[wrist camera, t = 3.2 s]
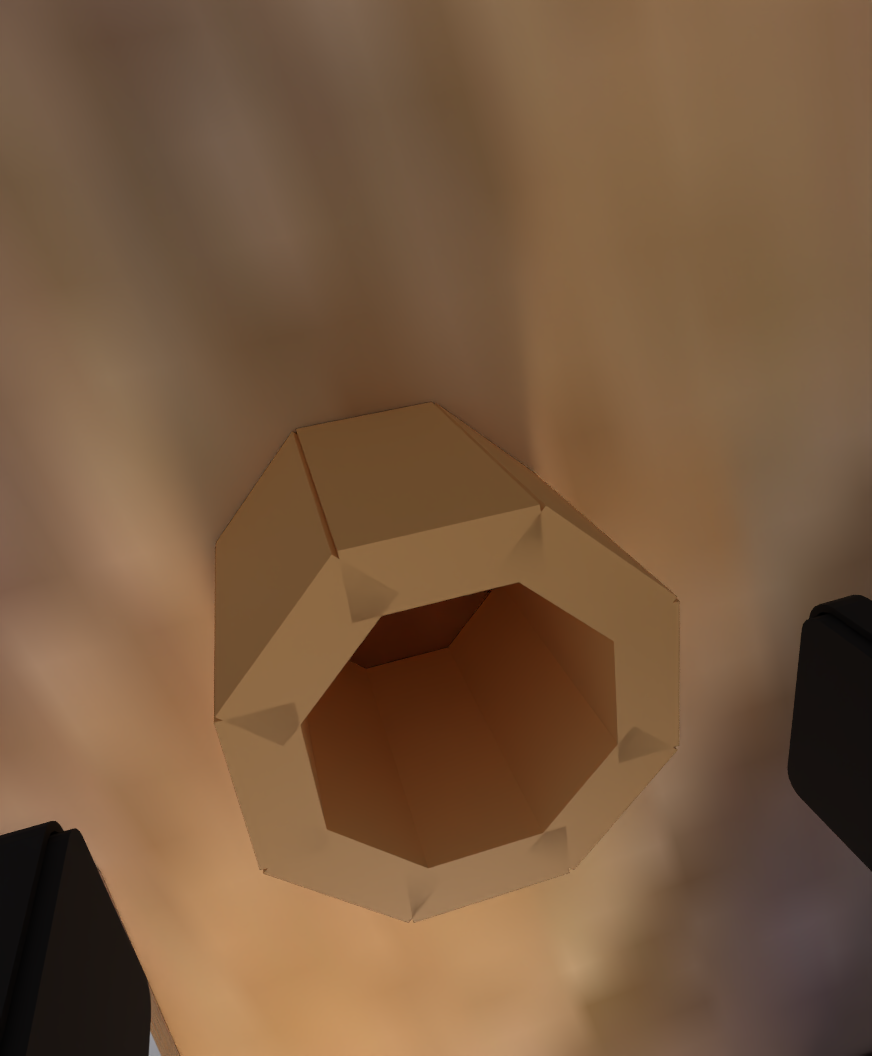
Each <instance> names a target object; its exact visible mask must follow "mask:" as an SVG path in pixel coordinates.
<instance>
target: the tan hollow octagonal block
mask: <svg viewBox="0 0 872 1056" xmlns="http://www.w3.org/2000/svg"><path fill="white" fill-rule="evenodd" d="M296 431H297V434H296V433H294V432H291V434H290V435H289V437H288V438H287V440H286V441H285V443H284V444H283V445H282V447H281V448H280V450H279V451H278V453H277V454H276V456H275V457H274V459H273V460H272V462H271V463H270V464H269V466H268V467H267V469H266V470H265V472H264V473H263V475H262V476H261V478H260V479H259V481H258V482H257V483H256V485H255V486H254V488H253V489H252V491H251V492H250V494H249V495H248V497H247V498H246V500H245V501H244V502H243V504H242V505H241V507H240V508H239V510H238V511H237V513H236V514H235V516H234V517H233V519H232V520H231V521H230V523H229V524H228V526H227V527H226V529H225V530H224V532H223V533H222V535H221V536H220V538H219V539H218V540H217V542H216V547H215V651H214V725H215V728H216V731H217V734H218V737H219V741H220V744H221V747H222V750H223V753H224V757H225V760H226V763H227V766H228V769H229V773H230V776H231V779H232V782H233V785H234V789H235V792H236V795H237V798H238V801H239V805H240V808H241V811H242V814H243V817H244V821H245V824H246V827H247V830H248V833H249V837H250V840H251V843H252V846H253V849H254V853H255V856H256V859H257V862H258V865H259V869H260V870H263V873H264V874H266V875H269V876H272V877H275V878H278V879H281V880H284V881H287V882H290V883H293V884H296V885H298V886H301V887H304V888H307V889H310V890H313V891H316V892H319V893H322V894H325V895H328V896H331V897H334V898H337V899H340V900H343V901H345V902H348V903H351V904H354V905H357V906H360V907H363V908H366V909H369V910H372V911H375V912H378V913H381V914H384V915H387V916H389V917H392V918H395V919H398V920H401V921H404V922H407V923H409V922H410V921H411V919H412V918H413V922H414V923H415V922H418V921H421V920H424V919H427V918H431V917H434V916H437V915H440V914H443V913H446V912H449V911H452V910H456V909H459V908H462V907H465V906H468V905H471V904H474V903H477V902H480V901H484V900H487V899H490V898H493V897H496V896H499V895H502V894H505V893H509V892H512V891H515V890H518V889H521V888H524V887H527V886H530V885H533V884H537V883H540V882H543V881H546V880H549V879H552V878H555V877H558V876H562V875H565V874H568V873H570V872H569V868H570V869H573V870H574V869H575V868H576V867H577V866H578V865H579V864H580V862H581V861H582V860H583V859H584V858H585V857H586V856H587V854H588V853H589V852H590V851H591V850H592V849H593V847H594V846H595V845H596V844H597V843H598V842H599V840H600V839H601V838H602V837H603V836H604V835H605V833H606V832H607V831H608V830H609V829H610V828H611V827H612V825H613V824H614V823H615V822H616V821H617V820H618V818H619V817H620V816H621V815H622V814H623V813H624V811H625V810H626V809H627V808H628V807H629V806H630V804H631V803H632V802H633V801H634V800H635V799H636V798H637V796H638V795H639V794H640V793H641V792H642V791H643V789H644V788H645V787H646V786H647V785H648V784H649V782H650V781H651V780H652V779H653V778H654V777H655V775H656V774H657V773H658V772H659V771H660V770H661V769H662V767H663V766H664V765H665V764H666V763H667V762H668V760H669V759H670V758H671V757H672V756H673V755H674V753H675V752H676V751H677V749H676V748H675V747H676V746H679V646H680V601H679V600H678V599H676V598H677V596H676V595H675V594H674V593H672V592H671V591H670V590H669V589H668V588H667V587H665V586H664V585H663V584H662V583H661V582H660V581H659V580H657V579H656V578H655V577H654V576H653V575H652V574H650V573H649V572H648V571H647V570H646V569H645V568H643V567H642V566H641V565H640V564H639V563H638V562H637V561H635V560H634V559H633V558H632V557H631V556H630V555H628V554H627V553H626V552H625V551H624V550H623V549H622V548H620V547H619V546H618V545H617V544H616V543H615V542H613V541H612V540H611V539H610V538H609V537H608V536H606V535H605V534H604V533H603V532H602V531H601V530H600V529H598V528H597V527H596V526H595V525H594V524H593V523H591V522H590V521H589V520H588V519H587V518H586V517H585V516H583V515H582V514H581V513H580V512H579V511H578V510H576V509H575V508H574V507H573V506H572V505H571V504H569V503H568V502H567V501H566V500H565V499H564V498H563V497H561V496H560V495H559V494H558V493H557V492H556V491H554V490H553V489H552V488H551V487H550V486H549V485H548V484H546V483H545V482H544V481H543V480H542V479H541V478H539V477H538V476H537V475H536V474H535V473H534V472H532V471H531V470H529V469H528V468H527V467H525V466H524V465H522V464H521V463H520V462H518V461H517V460H515V459H514V458H513V457H511V456H510V455H508V454H507V453H506V452H504V451H503V450H501V449H500V448H499V447H497V446H496V445H494V444H493V443H492V442H490V441H489V440H487V439H486V438H485V437H483V436H482V435H480V434H479V433H478V432H476V431H475V430H473V429H472V428H471V427H469V426H468V425H466V424H465V423H464V422H462V421H461V420H459V419H458V418H456V417H455V416H454V415H452V414H451V413H449V412H448V411H447V410H445V409H444V408H442V407H441V406H440V405H438V404H437V403H435V405H434V404H433V403H432V402H429V403H424V404H419V405H414V406H408V407H403V408H398V409H393V410H388V411H383V412H378V413H373V414H368V415H363V416H358V417H353V418H348V419H343V420H338V421H333V422H328V423H323V424H318V425H313V426H308V427H303V428H298V429H296ZM493 588H494V589H493ZM489 589H493V590H492V591H491V592H490V594H489V595H488V596H487V598H486V599H485V600H484V601H483V603H482V604H481V605H480V607H479V608H478V609H477V611H476V612H475V613H474V614H473V616H472V617H471V618H470V620H469V621H468V622H467V624H466V625H465V626H464V627H463V629H462V630H461V631H460V633H459V634H458V635H457V637H456V638H455V639H454V640H453V642H452V643H451V644H450V646H449V647H448V648H444V649H440V650H437V651H433V652H429V653H425V654H421V655H417V656H413V657H409V658H406V659H402V660H398V661H394V662H390V663H386V664H382V665H378V666H375V667H371V668H367V669H365V668H363V667H361V666H359V665H357V664H355V663H353V662H351V661H349V659H350V658H351V656H352V655H353V654H354V652H355V651H356V649H357V648H358V647H359V645H360V644H361V643H362V641H363V640H364V639H365V637H366V636H367V635H368V633H369V632H370V631H371V629H372V628H373V627H374V625H375V624H376V623H377V621H378V620H379V619H380V617H381V616H383V615H387V614H391V613H395V612H400V611H404V610H408V609H412V608H416V607H420V606H424V605H428V604H432V603H436V602H440V601H444V600H448V599H452V598H456V597H460V596H464V595H469V594H473V593H477V592H481V591H485V590H489Z"/></svg>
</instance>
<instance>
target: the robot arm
mask: <svg viewBox="0 0 872 1056" xmlns="http://www.w3.org/2000/svg"><path fill="white" fill-rule="evenodd" d="M788 775H789V779H790V782H791V784H792V786H793V788H794V790H795V791H796V793H797V794H798V795H799V796H800V798H801V799H802V800H803V801H804V802H805V803H806V804H807V805H808V806H809V807H810V808H811V809H812V810H813V811H814V812H815V813H816V814H817V815H818V816H819V817H820V818H821V819H822V820H823V821H824V823H825V824H826V825H827V826H828V827H829V828H830V829H831V830H832V831H833V832H834V833H835V834H836V835H837V836H838V837H839V838H840V839H841V840H842V841H843V842H844V843H845V844H846V845H847V846H848V847H849V848H850V849H851V850H852V852H853V853H854V854H855V855H856V856H857V857H858V858H859V859H860V860H861V861H862V862H863V863H864V864H865V865H866V866H867V867H868V868H869V869H870V870H871V871H872V601H871V600H870V599H868V598H866V597H864V596H861V595H851V596H848V597H844V598H841V599H837V600H834V601H830V602H827V603H823V604H820V605H817V606H815V607H814V608H813V610H812V611H811V613H810V617H809V619H808V620H806V621H805V622H804V624H803V627H802V633H801V643H800V652H799V662H798V672H797V681H796V691H795V701H794V710H793V720H792V730H791V739H790V749H789V759H788ZM150 1026H151V997H150V990H149V985H148V981H147V978H146V976H145V973H144V971H143V969H142V967H141V965H140V962H139V960H138V958H137V956H136V953H135V951H134V949H133V947H132V945H131V942H130V940H129V938H128V936H127V934H126V931H125V929H124V927H123V925H122V923H121V920H120V918H119V916H118V914H117V911H116V909H115V907H114V905H113V903H112V900H111V898H110V896H109V894H108V892H107V889H106V887H105V885H104V883H103V881H102V878H101V876H100V874H99V872H98V869H97V867H96V865H95V863H94V861H93V858H92V856H91V854H90V852H89V850H88V847H87V845H86V843H85V841H84V839H83V836H82V835H81V833H80V831H79V830H78V829H70V830H67V831H63V829H62V827H61V826H60V824H58V823H57V822H56V821H50V822H46V823H43V824H39V825H36V826H32V827H29V828H25V829H22V830H18V831H15V832H11V833H7V834H4V835H0V1056H149V1043H150Z"/></svg>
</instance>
